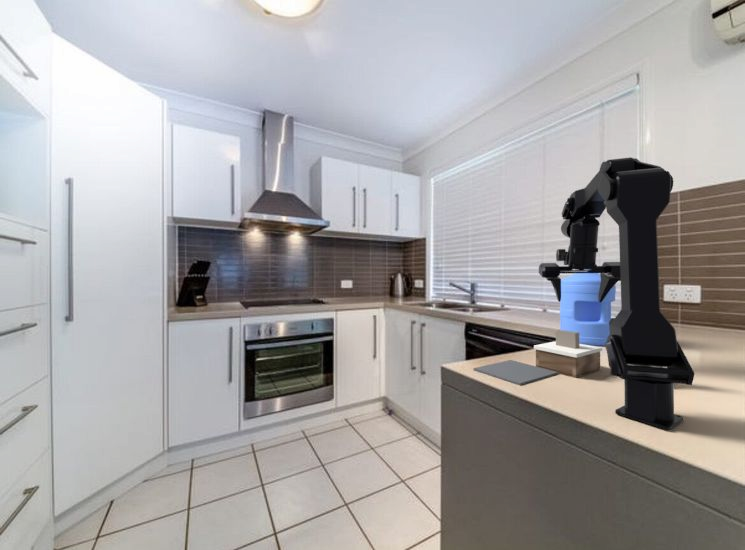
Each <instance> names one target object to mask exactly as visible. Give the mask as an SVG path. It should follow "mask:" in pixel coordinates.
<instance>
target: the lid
mask: <svg viewBox="0 0 745 550" xmlns="http://www.w3.org/2000/svg"><path fill="white" fill-rule="evenodd" d="M533 349H534V350H536V349H537V350H542V351H547V352H552V353H556V354H561V355H566V356H571V357H576V358H577V357H581V356H585V355H589V354H592V353H596V352H600V353H601V352H603V346H591V345H584V344H579V332H572V331H565V330H560V329H556V330H555V341H554V340H553V341H549V342H544V343H540V344H536V345H535V344H534V345H533Z"/></svg>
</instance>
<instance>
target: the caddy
mask: <svg viewBox="0 0 745 550" xmlns="http://www.w3.org/2000/svg"><path fill="white" fill-rule="evenodd" d="M535 366H536V367H540V368H544V369H548V370H552V371H556V372H558V374H560V375H563V376H568V377H571V378H581V377H583V376H587V375H589V374H592V373H595V372H597V371H601V351H600V352H596V353H592V354H589V355H585V356H581V357H577V358H576V357H571V356H566V355H561V354H556V353H552V352H547V351H542V350H537V349H535Z"/></svg>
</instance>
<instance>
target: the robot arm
mask: <svg viewBox="0 0 745 550" xmlns="http://www.w3.org/2000/svg"><path fill="white" fill-rule="evenodd" d="M673 187H674V177H673V176H672V174H671V173H670V172H669V171H667V170H665V169H664V168H662V167H661V166H659V165H655V164H651V163H648V162H644V161H643V162H642V161H640V160H639V159H638V158H635V157H634V158H633V157H630V156H629V157H623V158H614V159H613V158H612V159H607V160H606V161H605V160H604V161H602V163H601V164H600V168H599V171H598V172H597V173H596V174H595V175H594V176H593V177H592V179H591V180H590V182H589V183H588V184H587V185H586V186H585V187H584V188H581V189H576V190H575V191H573V192H572V193H571V194H570V196H569V197H567V200H566V201H565V203H564V206H563V208H562V211H561V218H562V220H564V221H563V222H562V224H561V227H560V232H561V233H562V235H563V236H565V237H566V238H568V239H569V245H568V249H567V250H566V249H565V248H562V249H561V248H560V249H559V248H558V249H557V250H556V252H555V257H556V259H555V260H556V262H541V263H540V264H539V266H538V274H539V276H541V277H542V278H546V280H547V281H549V282H551V285H552V286H553V289H554V293H555V296H556V299H557V302H558V303H560V301H561V280H562V279H561V278H560V276H561V274H575V273H598V274H600V276H601V283H600V289H599V295H598V301H599V302H602V301H603V299H604V298H605V297H606V295H607V294H608V292H609V291H610V289H611V288H612V287H613V286H614V285H615V286H616V284H617V283H618V282H620V300H621V301H620V302H621V303H620V306H621V309H620V310H619V312H618V313H617V315H616V316H615V318H614V317H611V320H610V322H609V331H610V335H609V336H608V337H607V341H606V343H605V346H604V347H605V350H606V355H607V361H608V367H609V374H610V375H611V376H615V377H619V378H620V379H621V380H623V381H624V382H623V383H624V405H622V406H620V407H618V408H616V409H615V410H614V411H615V414H616V415H619V416H622V417H626V418H629V419H632V420H635V421H639V422H641V423H644V424H647V425H650V426H654V427H656V428H660V429H663V430H666V431H670V430H672V429H673V428H675V427H676V426H678V425H679V424H680V423H682V422H683V421H684V416H682V415H680V414H675V403H674V402H675V399H674V398H675V397H674V396H675V395H674V394H675V391H674V390H675V389H674V387H675V385H674V384H681V385H687V386H692V385H693V381H694V379H695V371H694V370H693V368H692V365H691V364H690V362H689V360H688V358H687V357H686V354H685V353H684V351H683V349H682V348H681V345H680V343H679V342H678V340H677V333H676V332H677V331H676V328H675V327H674V325H672V324H671V322H670V321H669V320H668V319H667V318H666V316H665V315H664V314H663V312H662V311H661V299H660V275H659V274H660V272H659V247H658V219H659V218H660V216H661V215H662V214H663V212H664V210H666V208H667V207H668V205H669V204H670V202H671V193H672V190H673ZM605 210H606V212H607V214H608V216H610V217H611V219H612V220H613V221H614V222H615V223H616V224H617V225H618V237H619V239H618V241H619V261H603V262H602V264H601V265H597V264H596V262H597V253H598V252H599V247H598V239H599V226H600V221H599V220H598V218H600V217H601V216H602V215H603V213H604V212H605ZM557 262H563V265H564V266H561V265H558V263H557ZM584 269H585V270H584ZM586 269H590V270H586ZM627 364H635V365H649V366H662V367H663V368H659V367H646V366H632V365H627Z"/></svg>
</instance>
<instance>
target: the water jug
mask: <svg viewBox="0 0 745 550" xmlns="http://www.w3.org/2000/svg"><path fill="white" fill-rule="evenodd" d="M584 270H585V269H584ZM586 270H590V269H586ZM600 283H601V276H600V273H572V274H571V275H570V276H566V277H564V278H562V279H561V301H560V302H559V303H560V304H559V318H560V319H559V321H560V325H559V327H560V329H559V330H565V331H572V332H579V344H584V345H590V346H596V347H605V343H606V341H607V337H608V336H609V335H610V331H609V322H610V320H611V318H612V302H613V303H614V302H615V301H616V293H617V289H616V288H617V287H616V284H615V285H614V286H613V287H612V288H611V289H610V291H609V292H608V294H607V295H606V297H605V298H604V299H603V301H602V302H599V301H598V295H599V289H600Z"/></svg>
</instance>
